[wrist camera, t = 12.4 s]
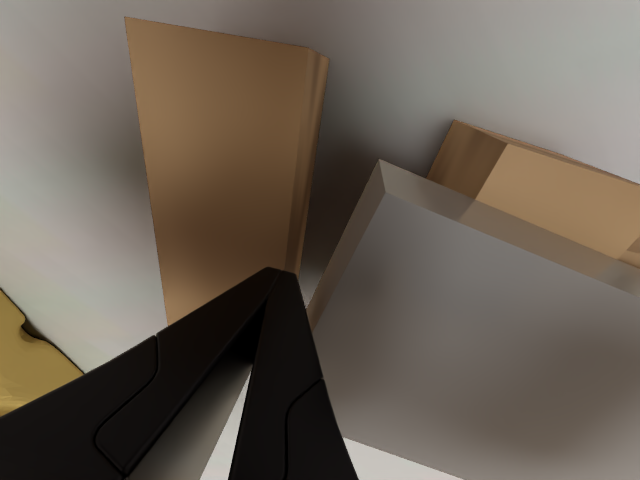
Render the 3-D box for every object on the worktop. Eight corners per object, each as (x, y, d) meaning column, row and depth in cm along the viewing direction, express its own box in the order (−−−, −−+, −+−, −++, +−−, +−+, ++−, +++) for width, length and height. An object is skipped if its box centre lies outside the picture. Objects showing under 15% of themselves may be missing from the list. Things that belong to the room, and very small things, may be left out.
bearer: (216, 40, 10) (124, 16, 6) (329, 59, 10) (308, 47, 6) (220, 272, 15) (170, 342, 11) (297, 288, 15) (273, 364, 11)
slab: (378, 158, 7) (385, 192, 5) (730, 307, 8) (866, 391, 6) (289, 345, 10) (271, 411, 8) (539, 437, 11) (580, 520, 9)
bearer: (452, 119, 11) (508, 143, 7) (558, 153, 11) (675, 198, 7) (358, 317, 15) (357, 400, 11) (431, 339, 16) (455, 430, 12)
